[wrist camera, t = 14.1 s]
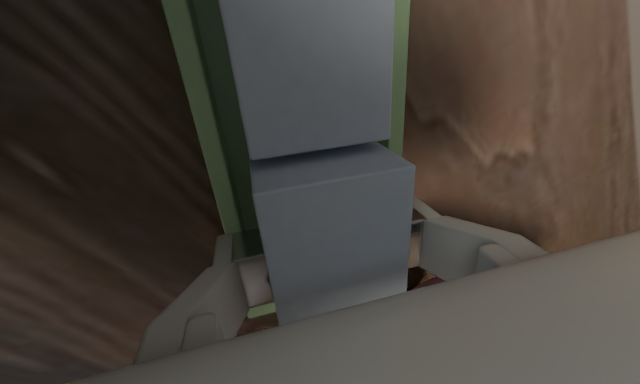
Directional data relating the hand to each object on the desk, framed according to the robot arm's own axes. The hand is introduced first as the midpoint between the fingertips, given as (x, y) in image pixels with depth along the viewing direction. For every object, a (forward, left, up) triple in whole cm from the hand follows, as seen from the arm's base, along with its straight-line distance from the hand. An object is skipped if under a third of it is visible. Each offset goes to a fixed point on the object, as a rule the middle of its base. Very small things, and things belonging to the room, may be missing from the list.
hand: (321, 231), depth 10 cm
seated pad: (+6, 0, -2) cm, 7 cm away
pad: (0, 0, -1) cm, 1 cm away
